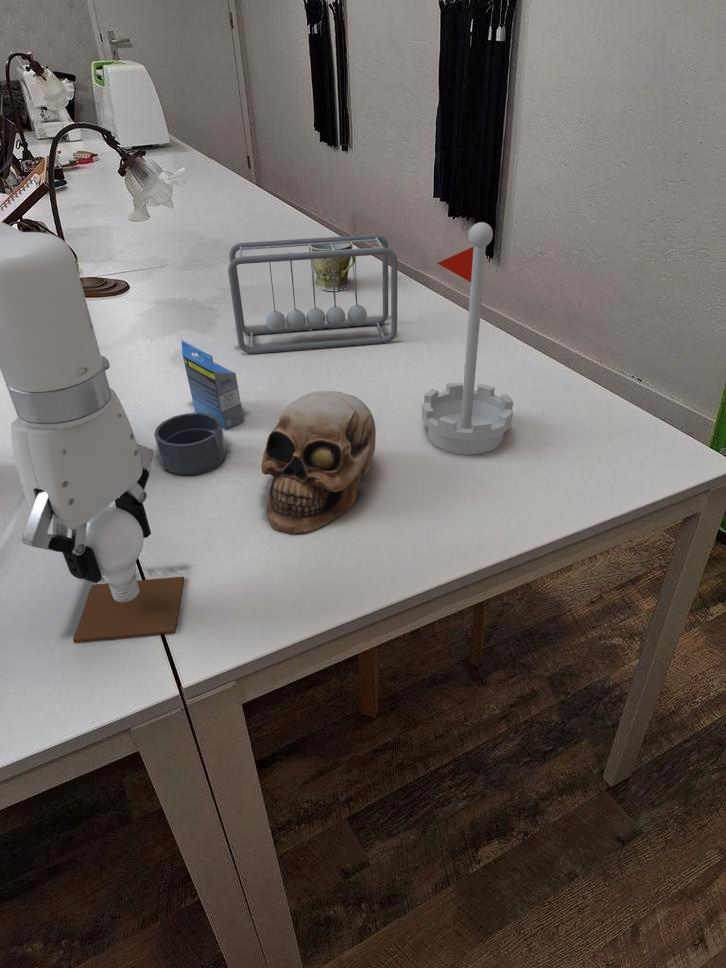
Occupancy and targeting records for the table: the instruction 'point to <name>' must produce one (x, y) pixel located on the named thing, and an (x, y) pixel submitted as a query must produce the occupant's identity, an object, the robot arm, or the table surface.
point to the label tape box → (212, 387)
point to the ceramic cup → (325, 267)
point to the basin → (190, 443)
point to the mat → (131, 611)
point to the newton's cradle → (314, 315)
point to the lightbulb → (116, 550)
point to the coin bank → (317, 459)
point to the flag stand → (468, 373)
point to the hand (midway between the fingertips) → (113, 553)
